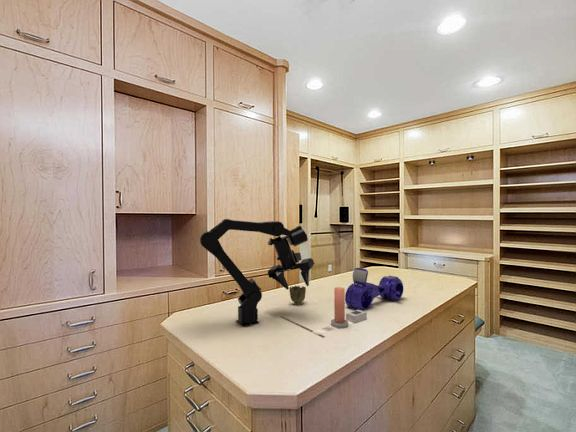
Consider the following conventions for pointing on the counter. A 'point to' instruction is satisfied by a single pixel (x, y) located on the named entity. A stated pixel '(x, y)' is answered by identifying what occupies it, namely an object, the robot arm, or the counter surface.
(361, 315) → the gray rectangular block
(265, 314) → the counter surface
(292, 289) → the cup
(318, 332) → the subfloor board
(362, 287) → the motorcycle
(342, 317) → the marker peg
